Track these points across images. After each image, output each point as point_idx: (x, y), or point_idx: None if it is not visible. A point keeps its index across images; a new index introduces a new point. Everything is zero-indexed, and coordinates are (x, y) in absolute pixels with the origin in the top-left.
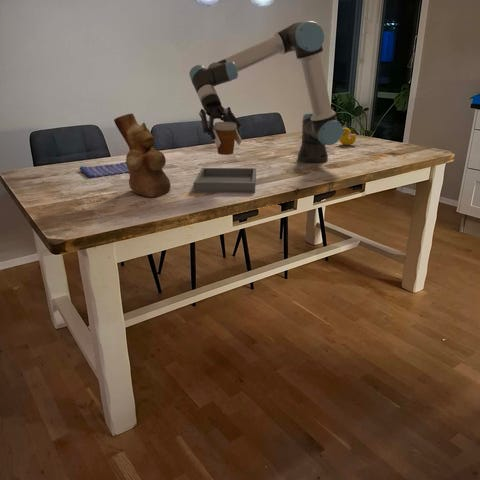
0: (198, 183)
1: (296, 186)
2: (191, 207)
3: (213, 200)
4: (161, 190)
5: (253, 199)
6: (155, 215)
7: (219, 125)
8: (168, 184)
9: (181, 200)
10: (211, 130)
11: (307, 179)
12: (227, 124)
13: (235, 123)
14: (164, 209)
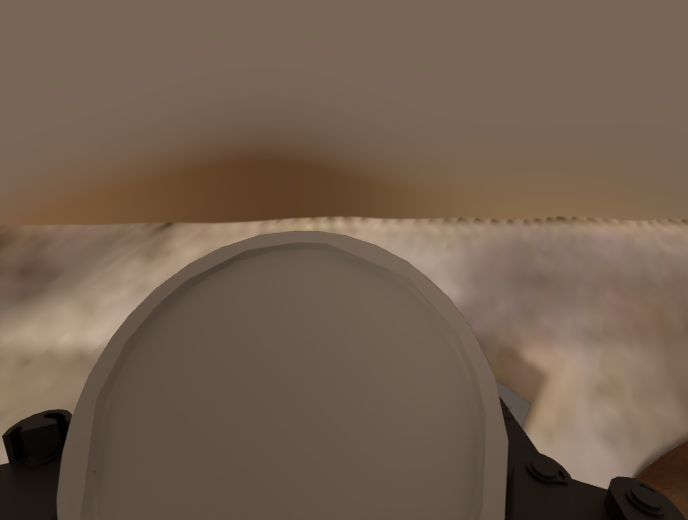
0: (508, 389)
1: (136, 248)
2: (557, 260)
3: (469, 278)
4: (681, 460)
5: (352, 222)
6: (674, 258)
7: (461, 321)
8: (658, 488)
9: (579, 340)
10: (533, 460)
11: (14, 292)
12: (278, 359)
13: (159, 296)
14: (647, 289)
